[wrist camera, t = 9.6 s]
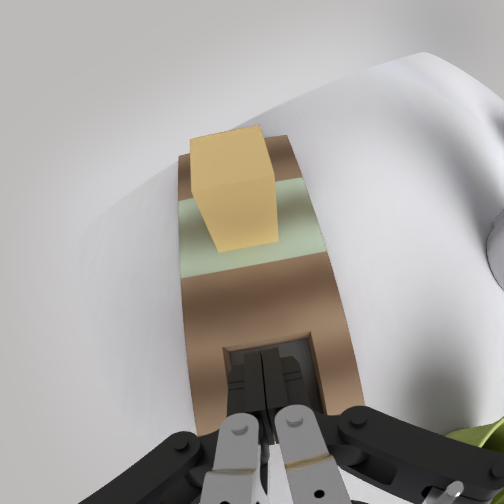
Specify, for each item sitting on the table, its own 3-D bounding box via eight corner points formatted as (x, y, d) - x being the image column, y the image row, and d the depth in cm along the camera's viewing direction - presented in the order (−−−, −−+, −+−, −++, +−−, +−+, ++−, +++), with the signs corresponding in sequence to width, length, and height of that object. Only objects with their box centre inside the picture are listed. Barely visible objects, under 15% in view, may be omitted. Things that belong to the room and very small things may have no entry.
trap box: (357, 416, 19) (367, 419, 17) (209, 441, 19) (199, 447, 17) (287, 154, 32) (286, 134, 30) (186, 173, 33) (178, 156, 30)
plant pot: (386, 469, 16) (431, 498, 9) (460, 392, 18) (521, 382, 11) (432, 519, 12) (478, 548, 5) (498, 446, 14) (555, 449, 7)
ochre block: (278, 241, 24) (274, 174, 17) (218, 252, 24) (191, 191, 17) (267, 194, 26) (259, 125, 19) (213, 204, 26) (189, 139, 19)
